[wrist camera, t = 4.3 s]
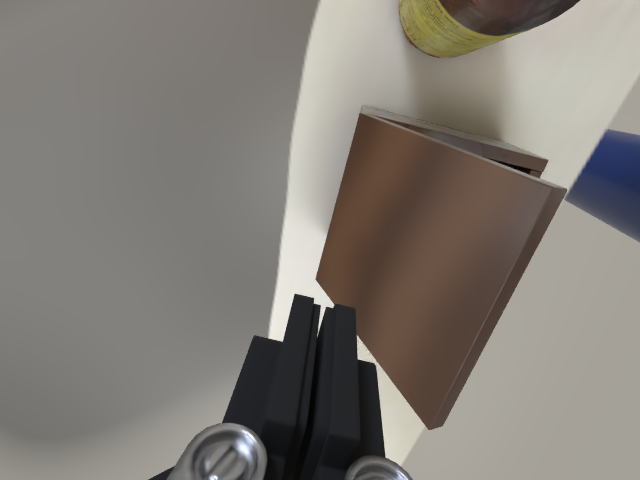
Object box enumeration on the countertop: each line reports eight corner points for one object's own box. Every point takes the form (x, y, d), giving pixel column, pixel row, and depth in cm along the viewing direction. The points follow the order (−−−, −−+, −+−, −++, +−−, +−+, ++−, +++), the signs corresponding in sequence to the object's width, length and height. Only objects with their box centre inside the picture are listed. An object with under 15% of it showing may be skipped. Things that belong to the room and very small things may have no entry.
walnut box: (503, 141, 27) (549, 160, 20) (449, 266, 31) (474, 313, 25) (362, 105, 26) (365, 112, 20) (327, 236, 30) (321, 275, 24)
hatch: (568, 189, 11) (553, 187, 11) (443, 426, 15) (428, 431, 15) (372, 114, 20) (359, 112, 20) (326, 278, 24) (314, 279, 24)
